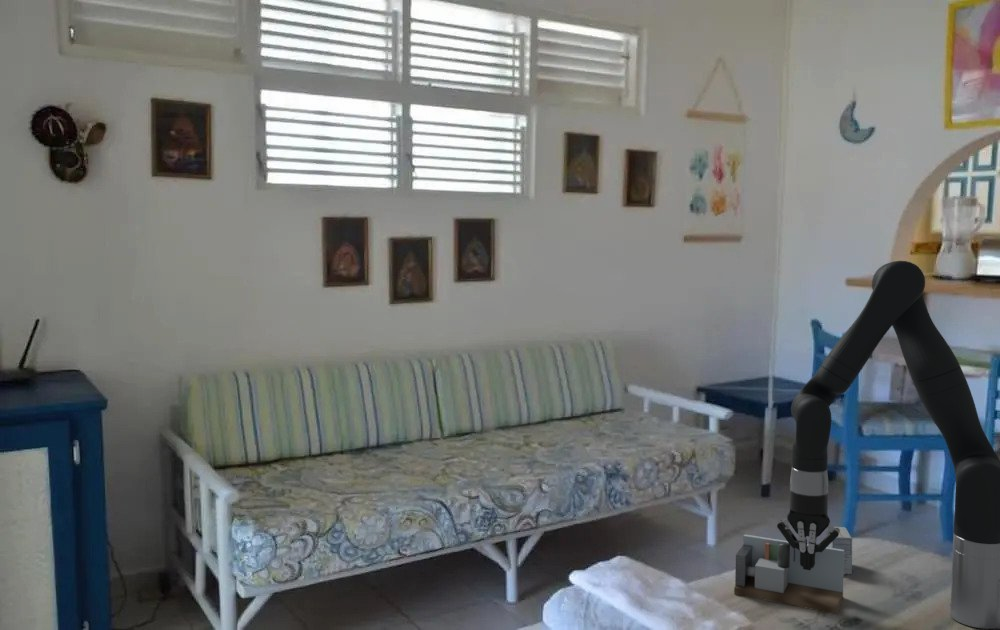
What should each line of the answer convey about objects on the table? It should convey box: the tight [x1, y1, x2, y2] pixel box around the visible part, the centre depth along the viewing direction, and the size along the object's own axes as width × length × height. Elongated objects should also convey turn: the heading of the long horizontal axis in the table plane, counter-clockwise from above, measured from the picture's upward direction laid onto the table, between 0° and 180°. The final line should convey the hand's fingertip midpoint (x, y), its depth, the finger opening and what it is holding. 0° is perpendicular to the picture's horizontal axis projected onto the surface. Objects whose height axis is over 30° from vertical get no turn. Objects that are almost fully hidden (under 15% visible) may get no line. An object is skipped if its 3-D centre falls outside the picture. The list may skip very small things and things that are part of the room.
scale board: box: [742, 534, 845, 593], centre depth 189 cm, size 21×1×9 cm, turn 61°
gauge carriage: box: [747, 542, 790, 593], centre depth 187 cm, size 9×6×10 cm, turn 62°
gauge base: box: [733, 577, 844, 614], centre depth 186 cm, size 21×9×2 cm, turn 61°
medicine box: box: [826, 526, 853, 575], centre depth 201 cm, size 8×4×9 cm, turn 168°
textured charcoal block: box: [734, 545, 752, 588], centre depth 190 cm, size 2×7×7 cm, turn 152°
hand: (807, 568), depth 183 cm, fingers closed
